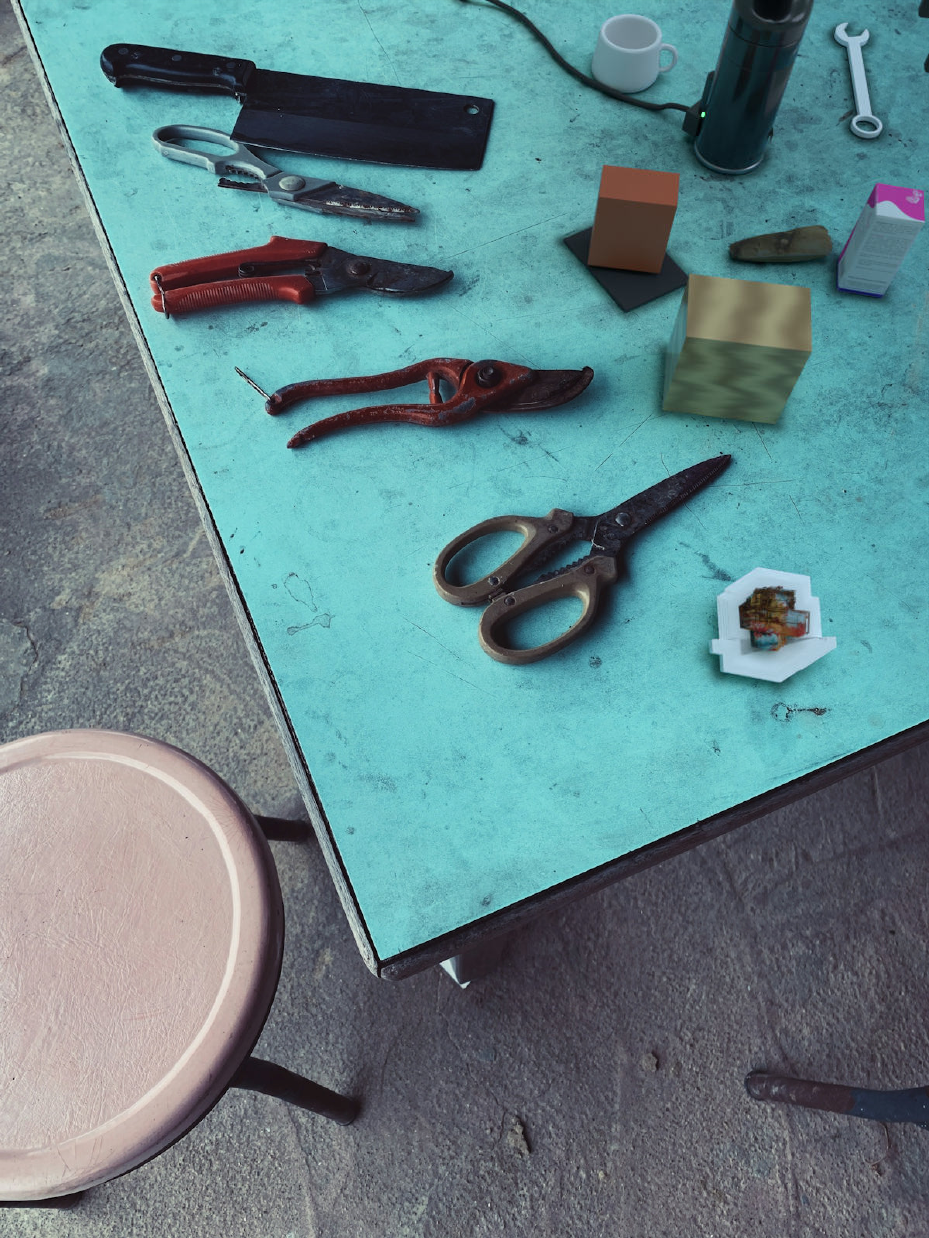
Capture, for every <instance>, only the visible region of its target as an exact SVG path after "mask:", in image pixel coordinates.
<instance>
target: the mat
mask: <svg viewBox="0 0 929 1238" xmlns="http://www.w3.org/2000/svg"><path fill="white" fill-rule="evenodd" d="M592 228H593V225H592V226H589V227H588V228H586V229H583V230H581V231H578V232H576V233H574V234H571V235H569V236H565V238H563V239H562V242H563V243H564V245H565V246H566V247H567V248H568V249H569V250H570V251H571V253H572V254H573V255H574V257H576V259H578V261H580V263H582V265H583V266H584V267H585V269H586V270H587V271H588V272H589V273H590V275H592V277H593V278H594V279H595V280H596V281H597V282H598V283H599V285H600V286H601V287H602V288H603V289H604V290H605V292H607V294H608V295H609V296H610V297H611V298H612V299H613V300H614V302H615V303H616V304H617V305H618V306H619V307H620V309H621V310H622V311H623V312H624V313H626V314H627V313H629V312H630V311H633V310H635V309H637V308H639V307H642V306H644V305H646V304H648V303H651V302H652V301H655V300H657V299H659V298H661V297H663V296H665V295H668V294H670V293H672V292H674V291H676V290H679V289H681V288H683V287H686V284H687V280H688V277H689V275H688V274H687V273H686V272H685V271H684V270H683V269H682V268H681V267H680V266H679V265H678V263H676V262H675V260H674V259H672V258H671V255H669V254H668V253H667V251H666V252H665V255H664V259H663V263H662V267H661V271H660V273H652V272H644V271H636V270H627V269H619V268H611V267H603V266H594V265H588V257H589V249H590V242H591V234H592Z"/></svg>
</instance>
